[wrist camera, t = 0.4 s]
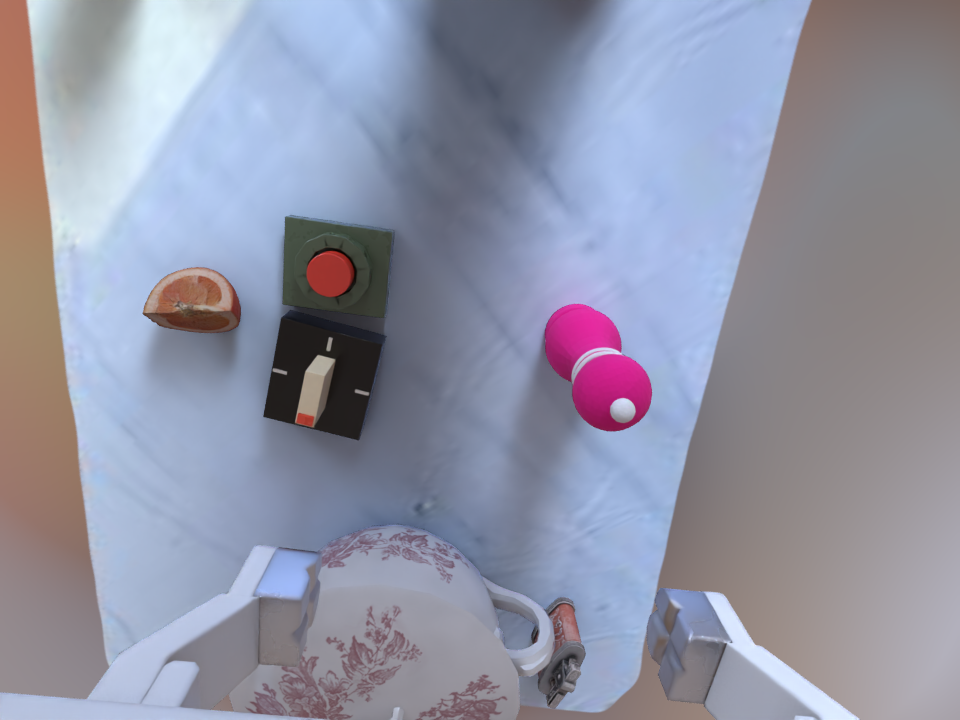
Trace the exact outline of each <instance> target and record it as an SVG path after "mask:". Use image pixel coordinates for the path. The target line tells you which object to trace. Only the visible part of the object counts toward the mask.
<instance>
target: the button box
mask: <svg viewBox="0 0 960 720" xmlns="http://www.w3.org/2000/svg"><path fill="white" fill-rule="evenodd" d="M393 242H394V230H389V229H382V228H376V227H369V226H362V225H355V224H348V223H342V222H335V221H328V220H321V219H314V218H308V217H301V216H294V215H290V216H286V217H285V242H284V275H283V305H290V306H297V307H305V308H312V309H319V310H327V311H334V312H342V313H349V314H356V315H364V316H371V317H378V318H385V316H386V314H387V305H388V294H389V284H390V273H391V263H392V252H393ZM325 251H337V252H340V253H342V254H344V255H345V256H346V257H347V258H348V259H349V260H350V261H351V263H352V265H353V268H354V279H353V282H352V284H351V285H350V287H349V288H348V289H347V290H346V291H345V292H344V293H342V294H341V295H339V296H335V297H326V296H323V295H320V294H318V293H317V292H316V291H314V290H313V289H312V287H311V286H310V284H309V282H308V279H307V268H308V265H309V263H310V261H311V260H312V259H313V258H314V257H316V256H317V255H319V254H320V253H322V252H325Z"/></svg>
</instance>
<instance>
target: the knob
mask: <svg viewBox="0 0 960 720" xmlns="http://www.w3.org/2000/svg"><path fill="white" fill-rule="evenodd" d="M334 365H335V359H332V358H328V357H324V356H320V355H317V357H316V358H315V359H314V361H313V362H312V363H311V365H310V366H309V367H308V369H307V370H306V371H305V376H304V381H303V386H302V391H301V396H300V400H299V405H298V410H297V415H296V420H295V423H297V424H301V425H305V426H309V427H313V428H314V426H315V424H316V423H317V421H318V419H319V417H320V416H321V414H322V412H323V410H324V409H325V406H326V401H327V397H328V392H329V388H330V383H331V378H332V374H333V369H334Z"/></svg>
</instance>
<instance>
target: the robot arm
mask: <svg viewBox="0 0 960 720" xmlns="http://www.w3.org/2000/svg"><path fill="white" fill-rule="evenodd" d="M321 567H322V554H321V552H313V551H305V550H297V549H289V548H281V547H279V548H277V547H271V546H263V545H256V546H255V547H254V548H253V549H252V550H251V552H250V554H249V556H248V558H247V559H246V561H245V563H244V565H243V566H242V568H241V570H240V572H239V574H238V575H237V577H236V579H235V581H234V582H233V584H232V586H231V588H230V590H229V591H228V593H227V594H222V593H220V594H219V595H217V596H215V597H214V598H212V599H210V600H209V601H207V602H205V603H203V604H202V605H200V606H198V607H197V608H195V609H193V610H192V611H190V612H188V613H187V614H185V615H183V616H182V617H180V618H178V619H176V620H175V621H173V622H171V623H170V624H168V625H166V626H165V627H163V628H161V629H160V630H158V631H156V632H155V633H153V634H151V635H149V636H148V637H146V638H144V639H143V640H141V641H139V642H138V643H136V644H134V645H133V646H131V647H129V648H128V649H126V650H124V651H122V652H121V653H119V655H118V656H117V657H116V659H115V660H114V661H113V663H112V664H111V666H110V667H109V668H108V670H107V671H106V673H105V674H104V676H103V677H102V678H101V680H100V681H99V682H98V684H97V685H96V687H95V688H94V690H93V691H92V692H91V694H90V695H89V696H88V698H87V699H75V698H63V697H51V696H39V695H28V694H15V693H4V692H3V693H2V692H0V720H326V719H314V718H302V717H290V716H278V715H266V714H254V713H242V712H230V711H218V710H211V709H212V708H213V707H215V706H216V705H217V704H218V703H219V702H220V701H221V700H222V699H223V698H224V697H225V696H226V695H228V694H229V693H230V692H231V691H232V690H233V689H234V688H235V687H236V686H238V685H239V684H240V683H241V682H242V681H243V680H244V679H245V678H246V677H247V676H249V675H250V674H251V673H252V672H253V671H254V670H255V669H256V668H257V667H258V665H274V666H290V667H298V666H299V663H300V660H301V657H302V654H303V651H304V648H305V645H306V642H307V629H308V628H310V627H311V626H312V624H313V621H314V618H315V614H316V610H317V606H318V601H319V594H320V581H319V580H318V576H319V573H320V570H321ZM655 603H656V606H657V608H658V610H656V611H655V612H654V613H653V614H651V615H650V617H649V621H648V625H647V644H648V649H649V652H650V655H651V657H652V659H653V660H654V661H656V662H657V663H658V664H659V665H660V670H659V673H658V676H659V678H660V681H661V684H662V686H663V689H664V691H665V694H666V697H667V699H668V700H672V701H680V702H689V703H697V704H704V707H705V708H706V709H707V710H708V712H709V713H710V714H711V715H712V716H713V717H714V718H715V719H716V720H860V719H859V718H857V717H856V716H855V715H853V714H852V713H850V712H849V711H848V710H847V709H845V708H844V707H842V706H841V705H840V704H839V703H837V702H836V701H835V700H833V699H832V698H830V697H829V696H828V695H826V694H825V693H824V692H822V691H821V690H820V689H818V688H817V687H816V686H814V685H813V684H812V683H810V682H809V681H808V680H806V679H805V678H804V677H802V676H801V675H799V674H798V673H797V672H796V671H794V670H793V669H792V668H790V667H789V666H787V665H786V664H785V663H783V662H782V661H781V660H779V659H778V658H777V657H775V656H774V655H773V654H771V653H770V652H769V651H767V650H766V649H765V648H763V647H762V646H756V645H755V644H754V642H753V641H752V639H751V638H750V636H749V634H748V633H747V631H746V629H745V628H744V626H743V625H742V623H741V621H740V620H739V618H738V616H737V615H736V613H735V611H734V610H733V608H732V606H731V605H730V603H729V602H728V600H727V598H726V597H725V596H724V595H723V594H722V593H716V592H702V591H701V592H697V591H687V590H676V589H666V588H660V590H659V591H658V592H657V595H656V598H655Z"/></svg>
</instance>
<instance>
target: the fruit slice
mask: <svg viewBox="0 0 960 720" xmlns="http://www.w3.org/2000/svg"><path fill="white" fill-rule="evenodd" d="M143 315H145V316H147V317H148V318H149V319H151V321H153V322H156V323H157V324H158V325H159V326H162V327H166V328H170V329H176V330H183V331H189V332H199V333H222V332H227V331H230V330H232V329H234V328H236V327H237V326H238V325H239V323H240V317H241V307H240V303H239V299H238V296H237V294H236V291H235V289H234V288H233V286H232V285H231V284H230V283H229V282H228V280H227V279H226V278H225V277H224V276H222V275H221V274H220V273H218V272H216V271H214V270H210V269H208V268H199V267H196V268H187V269H183V270H180V271H176V272H174V273H171V274H169V275H167V276H166V277H164V278H163V279H161V280H160V282H159V283H158V284H157V285H156V286H155V287H154V289H153V290H152V291H151V293H150V295H149V297H148V299H147V302H146V303H145V306H144V311H143Z"/></svg>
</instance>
